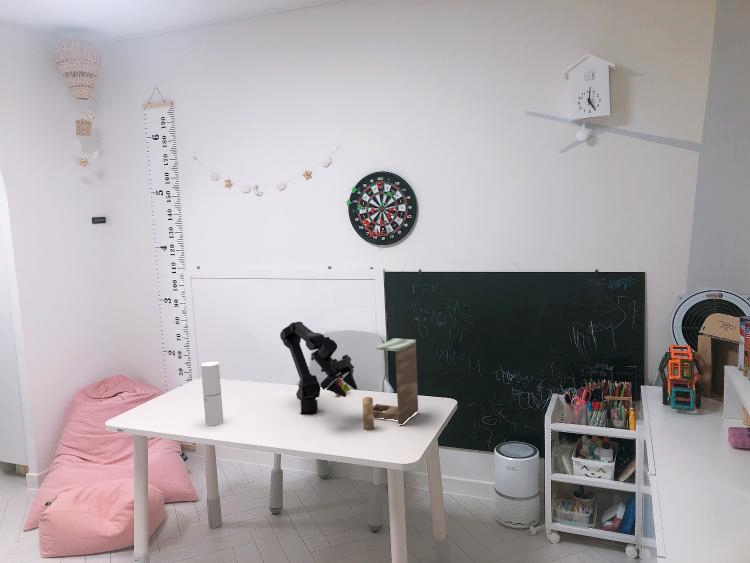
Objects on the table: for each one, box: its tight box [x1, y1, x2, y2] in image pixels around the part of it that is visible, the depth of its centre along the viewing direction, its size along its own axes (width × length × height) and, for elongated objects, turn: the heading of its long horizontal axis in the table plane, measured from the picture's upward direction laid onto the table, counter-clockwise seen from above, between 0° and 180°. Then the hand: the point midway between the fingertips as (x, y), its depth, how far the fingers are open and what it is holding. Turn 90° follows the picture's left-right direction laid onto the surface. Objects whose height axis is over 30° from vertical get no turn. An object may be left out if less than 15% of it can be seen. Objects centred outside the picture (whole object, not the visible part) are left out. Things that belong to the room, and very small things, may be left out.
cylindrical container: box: [200, 361, 224, 427], centre depth 247 cm, size 7×7×25 cm
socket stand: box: [373, 337, 419, 424], centre depth 245 cm, size 18×16×31 cm
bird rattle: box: [334, 377, 351, 397], centre depth 278 cm, size 6×11×9 cm
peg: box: [361, 396, 375, 431], centre depth 234 cm, size 4×4×12 cm
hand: (351, 392), depth 238 cm, fingers open, 9 cm apart
